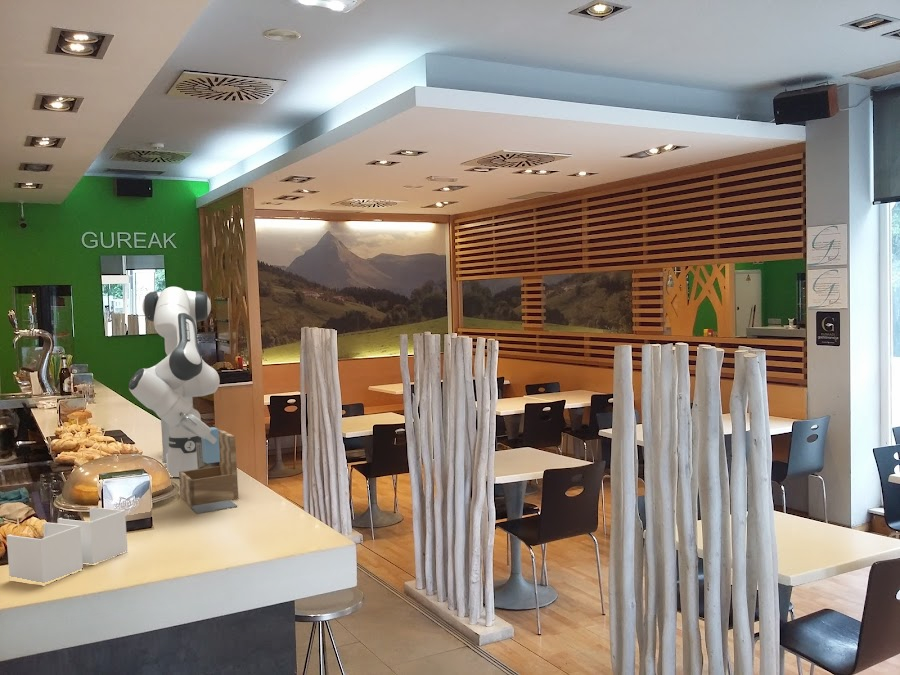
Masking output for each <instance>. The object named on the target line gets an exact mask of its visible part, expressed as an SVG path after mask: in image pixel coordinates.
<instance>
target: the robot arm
mask: <svg viewBox="0 0 900 675" xmlns="http://www.w3.org/2000/svg"><path fill="white" fill-rule="evenodd" d="M211 308H212V304H211V300H210V298H209V295H208V294H207V292H204V291H200V290H196V291H194V290H193V291H192V290H184V289H183V288H182V287H178V286H169V287H166V288H165V289H163V290H161V291H158V290H154V291H150V292H148V293H147V294H145V296H144V299H143V302H142V312H143V314H144V317H145V319H147V320H148V321H149V322H153V326H154V329H155V331H156V333H157V334H158V335H159V336H160V337H162V338H164V351H165V354H166V356H165V358H163V359H161V361H159V362H158V363H156V364H155V365H153V366H151V367H149V368H148V367H147V368H145V367H144V368H140V369H139V370H137V371H136V372H135V373H134V374H133V376H132V377H131V378H130V381H129V382H128V390H129V392H130V393H131V394H132V396H133V397H134V398H135V399H136V400H137V401H138V402H140V404H142V405H143V406H144V407H146V408H147V409H149V410H151V411H153V412H154V413H155V414H156V415H157V417H158V418H159V419H160V420H161V419H162V420H163V421H164V422H166V423H167V424H168V425H169V431H170V437H169V440H168V442H169V450H168V452H167V454H166V456H164V457H163V456H162V457H161V463H162V464H164V466H165V468H167V470H168V472H169V473H170V475H171V476H173V477H179V472H181V471H188V470H195V469H198V466H197V452H196V442H198V441H199V440H201V438H203V439H207V440H208V441H209V442H211V443H212V444H214V443H215V442H216V441H217V439H216V438H215V437H214V436H213V435H212V434H211V433H210V432H211V429H210V428H211V427H209V426H208V425H207V424H206V423H205V422H203V421H202V418H201V417H202V416H201V414H200V412H199V411H198V410H197V409H195V408H194V407H193V408H191V407H192V404H191V403H190V402H189V401H187V400H186V399H185V398H186V397H192V398H195V397H196V398H197V397H199V398H200V397H205V396H208V395H212V394H214V393H216V392H217V390H218V388H219V387H220V383H221V382H220V375H219V374H218V371H217V370H216V369H215V368H214V367H212V366H210V365H209V364H208V363H206V362H205V360H204V359H203V358H202V356H201V353H200V350H199V342H198V341H199V340H198V329H197V328H198V327H197V323H199V322H204V321H206V320H207V319H208V318H209V316H210V313H211V311H212V309H211ZM164 466H163V467H164ZM173 477H172V478H173Z"/></svg>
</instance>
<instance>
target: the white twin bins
mask: <svg viewBox="0 0 900 675" xmlns="http://www.w3.org/2000/svg"><path fill="white" fill-rule="evenodd" d="M126 520H127V519H126V510H125V509H116V508H113V509H112V508H104V507H94V506H92V507H89V521H86V520H85V521H84V520H78V519H77V520H75V519H68V518H67V519H66V518H63V517H60V518H59V517H58V518H57V522H44V523H42V527H43V538H36V537H27V536H19V535H13V534H12V533H10V534H8V535H6V545H7V560H8V573H9V574H8V576H11V577H17V578H22V579H27V580H31V581H36V582H42V583H45V582H48V581H51V580H54V579H56V578H59V577H62V576H64V575H67V574H70V573H72V572H75V571H77V570H80V569H82V568H83V569H84V565H83V563H89V564H94V563H97V562H100V561H103V560H106V559H109V558H111V557H113V556H116V555H118V554H120V553H123V552H125V551H128V538H127V521H126ZM109 560H110V559H109Z"/></svg>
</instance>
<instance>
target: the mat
mask: <svg viewBox="0 0 900 675" xmlns="http://www.w3.org/2000/svg"><path fill="white" fill-rule="evenodd" d="M237 506H238V505H237V504H236V503H235V502H234V501H233V500H225V501H219V502H213V503H207V504H201V505H195V506H191V505H190V509H192V510H193V512H195V513H196V514H197V515H198V514H199V513H200V514H205V513H204V512H206V513H210V512H209V511H212V512H216V510H218V511H222V510H221V509H224V510H228V509H227V508H230V509H233V508H232V507H235V508H238V507H237Z"/></svg>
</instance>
